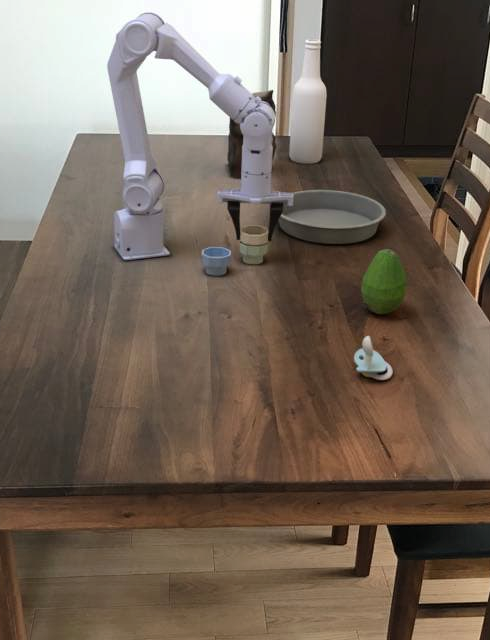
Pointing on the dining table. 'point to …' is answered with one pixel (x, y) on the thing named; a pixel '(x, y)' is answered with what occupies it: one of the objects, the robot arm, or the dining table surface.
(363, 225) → the cake pan
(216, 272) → the blue bowl
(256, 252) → the celadon bowl
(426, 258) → the dining table surface
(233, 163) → the owl
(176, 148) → the dining table surface
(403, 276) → the avocado
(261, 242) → the ivory bowl
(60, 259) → the dining table surface
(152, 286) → the dining table surface
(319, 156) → the alcohol
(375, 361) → the pacifier
